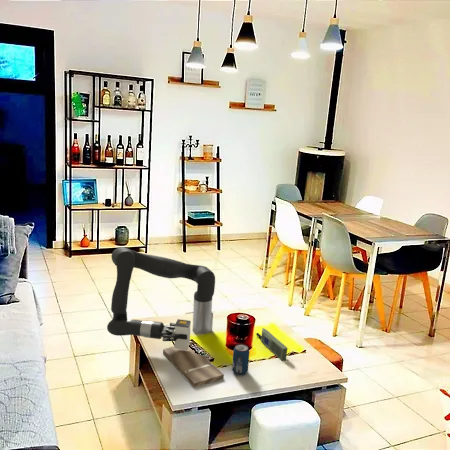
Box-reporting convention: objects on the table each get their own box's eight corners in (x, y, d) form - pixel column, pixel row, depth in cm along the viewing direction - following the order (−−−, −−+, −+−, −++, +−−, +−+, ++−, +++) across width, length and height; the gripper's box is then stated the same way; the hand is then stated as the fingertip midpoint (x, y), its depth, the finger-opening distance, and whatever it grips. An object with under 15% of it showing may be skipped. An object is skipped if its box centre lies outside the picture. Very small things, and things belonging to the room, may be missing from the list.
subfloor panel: (190, 346, 222) (190, 342, 222) (223, 378, 198) (223, 374, 198) (163, 353, 215) (163, 348, 214) (194, 387, 191) (194, 382, 190)
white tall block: (176, 342, 216) (177, 319, 213) (189, 344, 216) (190, 320, 212) (174, 348, 211) (175, 323, 208) (187, 350, 211) (188, 325, 208)
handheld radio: (281, 361, 214) (253, 336, 236) (287, 360, 216) (259, 335, 237) (282, 348, 213) (255, 324, 234) (288, 347, 214) (261, 323, 236)
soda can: (244, 366, 208) (246, 342, 205) (250, 375, 202) (252, 350, 199) (229, 368, 206) (231, 344, 203) (235, 377, 199) (236, 352, 196)
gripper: (147, 329, 206) (185, 334, 204) (156, 315, 219) (192, 319, 217) (147, 344, 208) (184, 349, 206) (156, 329, 221) (191, 334, 219)
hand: (188, 334), depth 212 cm, fingers closed on white tall block, 5 cm apart
